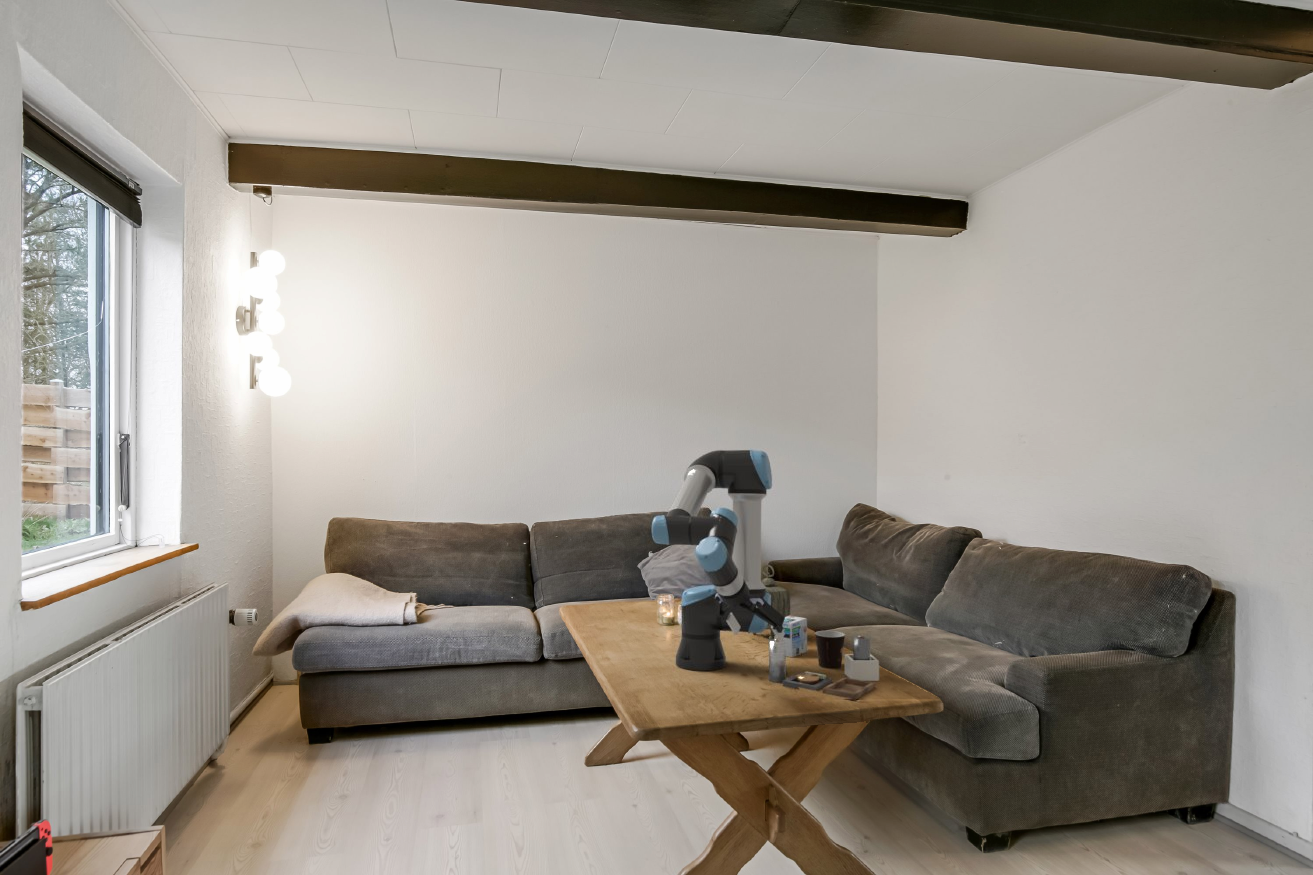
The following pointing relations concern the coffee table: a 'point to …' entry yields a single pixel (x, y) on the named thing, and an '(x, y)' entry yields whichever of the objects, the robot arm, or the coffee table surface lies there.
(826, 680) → the base
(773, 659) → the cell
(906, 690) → the coffee table surface
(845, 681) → the brown wooden tray
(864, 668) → the white square box
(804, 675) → the brown flat disc
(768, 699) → the coffee table surface
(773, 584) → the tabletop clock
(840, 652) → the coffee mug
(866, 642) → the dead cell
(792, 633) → the light bulb box
